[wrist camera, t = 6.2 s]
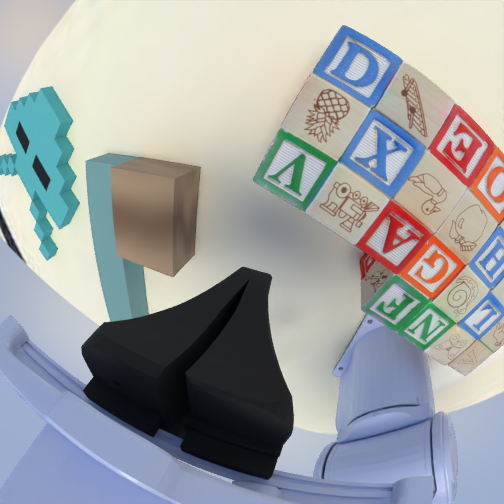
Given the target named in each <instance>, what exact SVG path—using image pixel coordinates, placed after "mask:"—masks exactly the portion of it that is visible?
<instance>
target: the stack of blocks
mask: <svg viewBox="0 0 504 504" xmlns="http://www.w3.org/2000/svg"><path fill="white" fill-rule="evenodd" d="M253 181H254V182H255V183H257V184H259V185H260V186H262V187H264V188H266V189H267V190H269V191H270V192H272V193H273V194H275V195H277V196H279V197H280V198H282V199H284V200H285V201H287V202H289V203H290V204H292V205H293V206H295V207H297V208H298V209H300V210H302V211H304V212H305V213H306V214H307V215H309V216H310V217H312V218H313V219H315V220H317V221H318V222H320V223H321V224H323V225H324V226H326V227H327V228H329V229H330V230H332V231H333V232H335V233H336V234H338V235H339V236H341V237H342V238H344V239H345V240H347V241H348V242H350V243H351V244H353V245H356V246H357V247H358V248H360V249H361V250H362V251H364V252H365V253H366V254H365V255H364V256H363V257H362V258H361V260H360V268H361V309H362V311H363V312H365V313H367V314H368V315H370V316H371V317H373V318H374V319H376V320H378V321H379V322H381V323H382V324H384V325H385V326H387V327H388V328H390V329H391V330H393V331H396V332H397V333H398V334H399V335H400V336H401V337H403V338H405V339H406V340H408V341H409V342H410V343H412V344H414V345H415V346H417V347H418V348H420V349H421V350H423V351H424V352H425V353H426V354H428V355H429V356H431V357H432V358H434V359H435V360H437V361H438V362H440V363H442V364H443V365H447V364H448V366H450V367H452V368H453V369H455V370H456V371H458V372H460V373H461V374H463V375H464V376H466V375H467V374H469V373H470V372H471V371H473V370H474V369H475V368H476V367H478V366H479V365H480V364H481V363H482V362H483V361H485V360H486V359H487V358H488V357H489V356H490V355H491V354H493V353H494V352H496V351H497V350H498V349H499V348H500V347H501V346H502V345H504V154H503V153H502V152H501V150H500V149H499V148H498V147H497V146H496V145H495V144H494V143H493V141H492V140H491V139H490V137H489V136H488V135H487V134H486V133H485V132H484V131H483V129H482V128H481V127H480V126H479V125H478V124H477V123H476V122H475V121H474V120H473V119H472V118H471V117H470V116H469V115H468V114H467V113H466V112H465V111H464V110H463V109H462V108H461V107H460V106H459V105H457V104H456V103H455V102H454V100H453V99H452V98H451V97H449V96H448V95H447V94H446V93H445V92H444V91H443V90H441V89H440V88H439V87H438V86H437V85H435V84H434V83H433V82H432V81H431V80H429V79H428V78H427V77H425V76H424V75H423V74H422V73H420V72H419V71H418V70H416V69H415V68H414V67H412V66H411V65H409V64H408V63H406V62H405V61H403V60H402V59H401V58H400V57H399V56H397V55H396V54H394V53H392V52H391V51H389V50H388V49H386V48H385V47H383V46H381V45H380V44H378V43H377V42H375V41H373V40H372V39H370V38H368V37H366V36H365V35H363V34H361V33H359V32H357V31H355V30H354V29H352V28H350V27H348V26H345V25H343V26H342V27H341V28H340V29H339V31H338V32H337V34H336V35H335V37H334V39H333V40H332V42H331V43H330V45H329V46H328V48H327V50H326V51H325V53H324V54H323V56H322V57H321V59H320V61H319V62H318V64H317V65H316V67H315V68H314V70H313V74H311V75H310V76H309V78H308V79H307V81H306V83H305V84H304V86H303V88H302V89H301V91H300V93H299V94H298V96H297V98H296V99H295V101H294V103H293V105H292V106H291V108H290V110H289V112H288V113H287V115H286V117H285V119H284V121H283V123H282V125H281V129H280V130H279V131H278V133H277V135H276V136H275V138H274V140H273V142H272V144H271V146H270V148H269V149H268V151H267V153H266V155H265V157H264V159H263V161H262V163H261V164H260V166H259V168H258V170H257V172H256V174H255V176H254V178H253Z"/></svg>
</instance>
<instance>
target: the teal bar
mask: <svg viewBox="0 0 504 504" xmlns="http://www.w3.org/2000/svg"><path fill="white" fill-rule="evenodd" d="M136 158H139V157H133V156H125V155H117V154H109V153H108V154H105V155H102V156H99V157H96V158H93V159H90V160H87V161H86V180H87V194H88V205H89V214H90V222H91V230H92V237H93V243H94V250H95V255H96V261H97V266H98V271H99V276H100V281H101V286H102V290H103V294H104V298H105V303H106V306H107V310H108V314H109V318H110V321H111V322H113V321H120V320H127V319H133V318H137V317H142V316H146V315H148V307H147V300H146V291H145V282H144V272H143V266H142V265H139V264H137V263H134V262H132V261H129V260H126V259H124V258H121V257H119V256H117V250H116V242H115V233H114V223H113V211H112V195H111V167H113V166H116V165H119V164H121V163H124V162H127V161H130V160H133V159H136Z"/></svg>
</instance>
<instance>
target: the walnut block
mask: <svg viewBox="0 0 504 504" xmlns="http://www.w3.org/2000/svg"><path fill="white" fill-rule="evenodd" d="M200 168H201V167H197V166H192V165H186V164H180V163H175V162H169V161H162V160H156V159H149V158H142V157H139V158H136V159H133V160H130V161H127V162H124V163H121V164H119V165H116V166H113V167H111V195H112V211H113V223H114V233H115V242H116V250H117V256H119V257H121V258H124V259H126V260H129V261H132V262H134V263H137V264H139V265H142V266H145V267H147V268H150V269H152V270H155V271H158V272H160V273H163V274H166V275H169V276H171V277H174V276H175V275H176V274H177V273H178V272H179V271H180V269H181V268H182V267H183V266H184V265H185V264H186V263H187V262H188V261H189V260H190V259H191V258H192V257H193V256H194V254H195V234H196V218H197V203H198V191H199V179H200Z"/></svg>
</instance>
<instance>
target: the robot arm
mask: <svg viewBox="0 0 504 504" xmlns="http://www.w3.org/2000/svg"><path fill="white" fill-rule="evenodd" d="M271 280H272V276H271V275H270V274H267V273H264V272H260V271H257V270H253V269H250V268H246V267H241V268H240V269H238V270H237V271H236V272H234V273H233V274H231V275H230V276H229V277H227V278H226V279H224V280H223V281H221V282H220V283H218V284H216V285H215V286H213V287H212V288H210V289H208V290H207V291H205V292H203V293H201V294H200V295H198V296H196V297H194V298H192V299H190V300H188V301H186V302H184V303H181V304H179V305H177V306H174V307H172V308H169V309H166V310H163V311H160V312H157V313H153V314H150V315H146V316H142V317H137V318H133V319H127V320H120V321H113V322H104V323H103V324H102V325H101V326H100V327H99V328H98V329H97V330H96V331H95V332H94V333H93V334H92V335H91V336H90V338H88V340H87V341H86V342H85V343H84V344H83V345H82V347H81V348H82V355H83V357H84V360H85V362H86V363H87V366H88V367H89V369H90V371H91V373H92V375H93V378H92V380H91V381H90V382H89V383H88V384H87V385H85V384H84V383H82V382H81V381H79V380H78V379H77V378H75V377H74V376H73V375H71V374H70V373H69V372H67V371H66V370H65V369H63V368H62V367H61V366H60V365H58V364H57V363H56V362H54V360H52V359H51V358H50V357H49V356H48V355H46V354H45V353H44V352H43V351H42V350H41V349H39V348H38V347H37V346H36V345H35V344H34V343H33V342H32V341H31V340H29V338H28V335H27V333H26V332H25V330H24V329H23V327H22V326H21V325H20V324H19V323H18V322H17V321H16V320H15V319H14V318H13V317H12V316H9V317H8V318H6V319H5V320H4V321H3V322H2V323H1V324H0V373H1V374H2V375H3V376H4V378H5V379H6V380H7V381H8V383H9V384H10V385H11V386H12V387H13V388H14V390H15V391H16V392H17V393H18V394H19V395H20V396H21V397H22V398H23V399H24V401H25V402H27V404H28V405H29V406H30V407H31V408H32V409H33V410H34V411H35V412H36V413H37V414H38V415H39V416H40V417H41V418H42V419H43V420H45V421H46V422H47V425H46V426H45V427H44V429H43V430H42V431H41V432H40V434H39V435H38V436H37V438H36V439H35V440H34V442H33V443H32V444H31V446H30V447H29V449H28V450H27V451H26V453H25V454H24V456H23V457H22V458H21V460H20V461H19V462H18V464H17V465H16V467H15V468H14V470H13V471H12V473H11V474H10V475H9V477H8V478H7V480H6V481H5V483H4V484H3V486H2V487H1V489H0V504H452V502H453V501H454V499H455V495H456V490H457V472H458V455H457V443H456V436H455V430H454V426H453V422H452V419H451V417H450V416H449V415H447V414H445V413H444V412H442V411H441V412H438V413H437V414H436V413H435V407H434V398H433V391H432V384H431V377H430V371H429V366H428V360H427V355H426V353H425V352H424V351H423V350H421V349H420V348H418V347H417V346H415V345H414V344H412V343H410V342H409V341H408V340H406V339H405V338H403V337H401V336H400V335H399V334H398V333H397V332H396V331H393V330H391V329H390V328H388V327H387V326H385V325H384V324H382V323H381V322H379V321H378V320H376V319H374V318H373V317H371V316H370V315H368V314H367V315H366V317H365V319H364V320H363V322H362V324H361V326H360V328H359V329H358V331H357V333H356V334H355V336H354V338H353V340H352V341H351V343H350V345H349V346H348V348H347V350H346V351H345V353H344V355H343V356H342V358H341V359H340V361H339V362H338V364H337V366H336V367H335V369H334V370H333V375H334V376H337V377H341V381H340V390H339V399H338V406H337V414H336V428H337V431H338V434H337V441H334V442H332V443H330V444H328V445H327V446H326V447H325V448H324V449H323V451H322V452H321V454H320V456H319V458H318V460H317V462H316V465H315V469H314V475H313V477H307V476H302V475H297V474H291V473H287V472H282V471H278V470H274V469H275V466H276V462H277V459H278V457H279V456H280V453H281V450H282V447H283V445H284V444H285V442H286V441H287V440H288V439H289V437H290V436H291V434H292V431H293V424H294V413H293V402H292V395H291V393H290V391H289V389H288V387H287V385H286V382H285V380H284V377H283V375H282V372H281V369H280V367H279V363H278V360H277V357H276V354H275V350H274V346H273V342H272V337H271V331H270V324H269V315H268V294H269V289H270V285H271ZM370 319H372V320H371V321H368V320H370ZM175 458H177V459H179V460H181V461H184V462H186V463H188V464H191V465H193V466H196V467H198V468H201V469H203V470H206V471H209V472H211V473H214V474H217V475H220V476H223V477H226V478H229V479H232V480H235V481H233V482H232V483H229V482H226V481H224V480H221V479H219V478H216V477H214V476H211V475H209V474H207V473H204V472H202V471H200V470H198V469H196V468H193V467H191V466H189V465H187V464H185V463H183V462H181V461H179V460H177V459H175Z"/></svg>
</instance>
